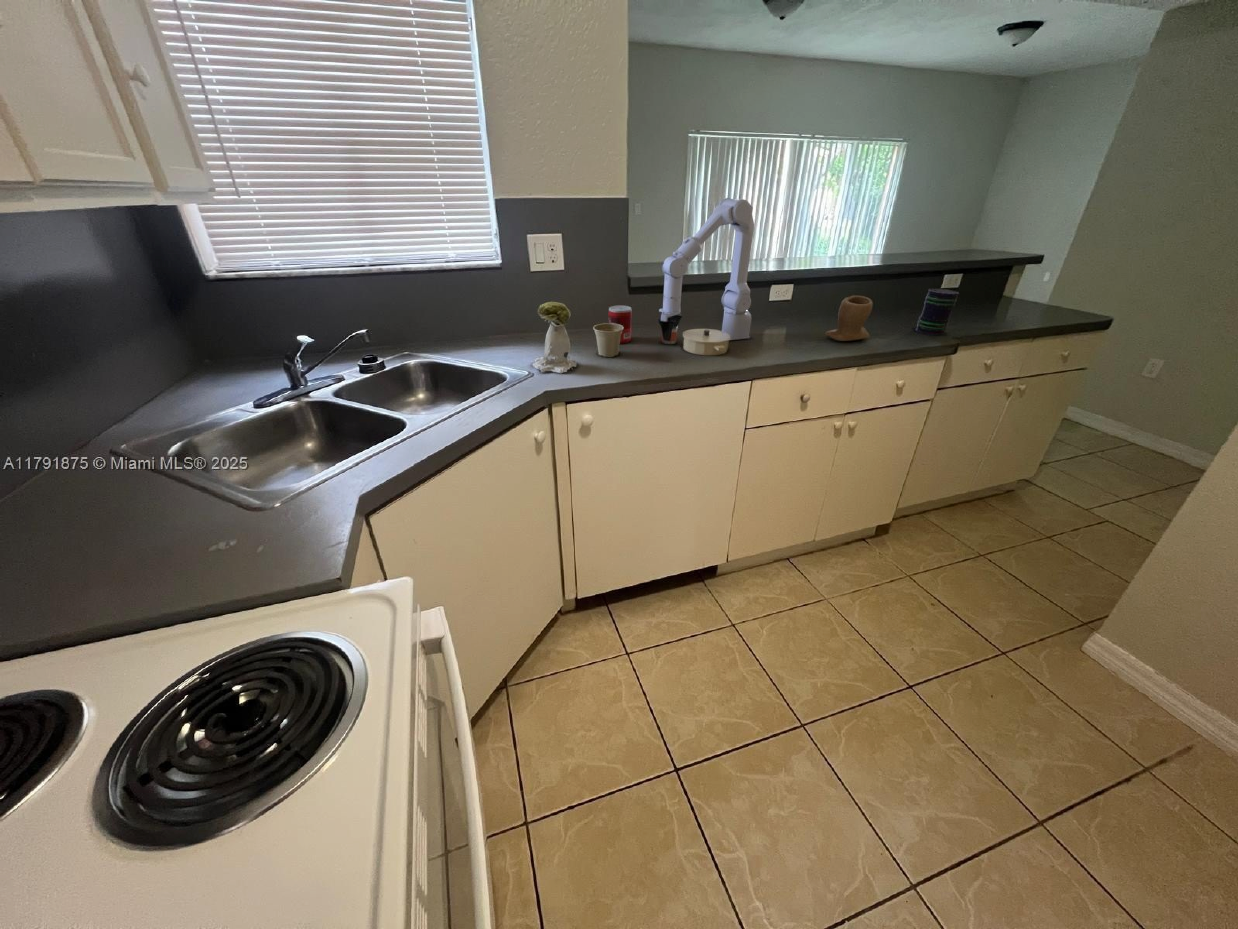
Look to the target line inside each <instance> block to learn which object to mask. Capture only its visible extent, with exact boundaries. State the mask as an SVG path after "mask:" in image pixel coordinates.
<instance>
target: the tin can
mask: <svg viewBox="0 0 1238 929" xmlns="http://www.w3.org/2000/svg"><path fill="white" fill-rule="evenodd" d="M677 339H678V327H676V326H673V329H672V333H671V338H670V340H669V341H667V340H663V335H662V334H661V343H662V344H665V345H675V344H676V343H677Z"/></svg>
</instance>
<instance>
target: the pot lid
mask: <svg viewBox="0 0 1238 929" xmlns="http://www.w3.org/2000/svg"><path fill="white" fill-rule="evenodd" d="M683 337H684V338H685V339H687V340H690V341H693V342H699V343H709V344H714V343H723V342H727V341H729V342H730V341H731V340H730V335H729V334H727V333H725V332H722V330H719V329H714V328H713V329H711V328H692V329H688V330H684V331H683V332H682V338H683Z"/></svg>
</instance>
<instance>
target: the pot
mask: <svg viewBox="0 0 1238 929" xmlns="http://www.w3.org/2000/svg"><path fill="white" fill-rule="evenodd" d="M682 338H683V339H682V348H683V351H685V352H687V353H691V354H693V355H698V356H699V355H701V356H719V355H723V354H726V353H727V352H728V348H729V343H730V340H729V341H727V342H723V343H714V344H709V343H699V342H693V341H690V340H687V339H685V338H684V337H683V336H682Z"/></svg>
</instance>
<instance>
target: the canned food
mask: <svg viewBox="0 0 1238 929" xmlns="http://www.w3.org/2000/svg"><path fill="white" fill-rule="evenodd" d="M632 311H633V310H632V307H631V306H628V305H622V304H621V305H612V306H609V307H608V323H612V324H619V325H621V326H623V328H624V329H623V330H622V334H621V337H620V344H627V343H629V342H630V341H631V339H632V338H631V337H632V314H633V313H632ZM620 344H619V345H620Z"/></svg>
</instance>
